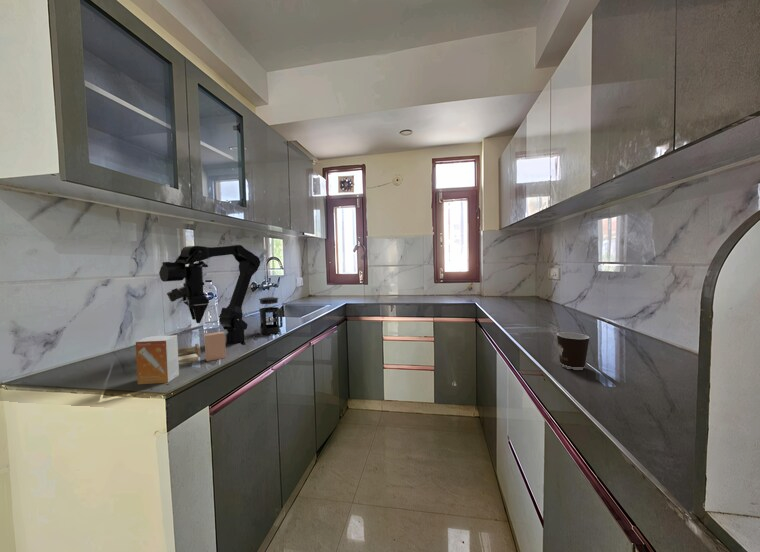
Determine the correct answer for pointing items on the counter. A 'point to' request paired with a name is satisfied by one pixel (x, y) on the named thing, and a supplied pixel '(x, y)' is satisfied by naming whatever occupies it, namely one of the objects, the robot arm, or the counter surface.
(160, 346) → the small box
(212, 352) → the salmon pink block
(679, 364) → the counter surface
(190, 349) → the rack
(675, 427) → the counter surface
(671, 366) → the counter surface
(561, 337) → the coffee mug
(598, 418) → the counter surface
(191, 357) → the offcut top
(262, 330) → the french press
